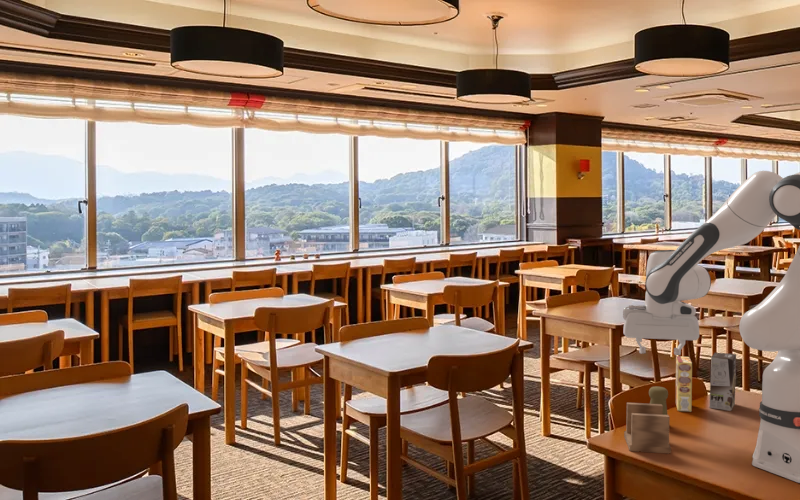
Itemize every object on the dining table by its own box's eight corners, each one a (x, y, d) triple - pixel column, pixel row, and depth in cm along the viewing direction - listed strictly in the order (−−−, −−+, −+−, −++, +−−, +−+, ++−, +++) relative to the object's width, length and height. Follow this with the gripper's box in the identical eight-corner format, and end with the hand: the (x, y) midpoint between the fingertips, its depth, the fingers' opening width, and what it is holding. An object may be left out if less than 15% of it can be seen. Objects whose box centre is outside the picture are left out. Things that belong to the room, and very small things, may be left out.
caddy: (662, 438, 181) (663, 404, 181) (670, 453, 171) (671, 417, 170) (624, 436, 183) (624, 402, 183) (629, 450, 173) (630, 414, 172)
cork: (670, 429, 189) (671, 390, 189) (648, 427, 190) (649, 389, 190) (666, 422, 195) (667, 385, 194) (645, 421, 196) (645, 384, 196)
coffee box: (731, 411, 205) (733, 359, 204) (708, 408, 209) (710, 356, 208) (735, 403, 213) (737, 353, 212) (713, 400, 216) (714, 351, 215)
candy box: (692, 412, 204) (693, 362, 203) (677, 411, 206) (678, 361, 205) (688, 404, 213) (689, 356, 212) (674, 403, 214) (675, 355, 213)
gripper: (624, 306, 190) (623, 354, 191) (701, 309, 186) (699, 358, 187) (621, 303, 196) (620, 349, 197) (696, 305, 192) (694, 352, 193)
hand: (659, 353), depth 192 cm, fingers open, 8 cm apart
